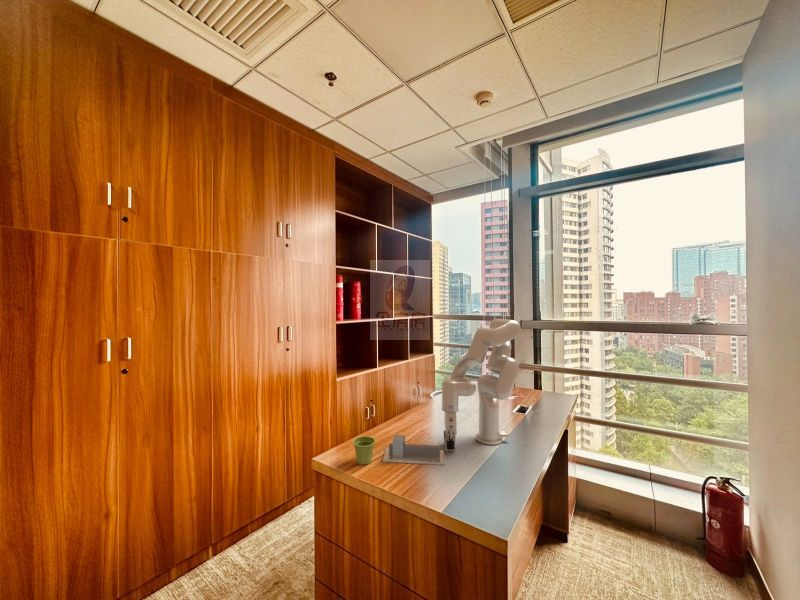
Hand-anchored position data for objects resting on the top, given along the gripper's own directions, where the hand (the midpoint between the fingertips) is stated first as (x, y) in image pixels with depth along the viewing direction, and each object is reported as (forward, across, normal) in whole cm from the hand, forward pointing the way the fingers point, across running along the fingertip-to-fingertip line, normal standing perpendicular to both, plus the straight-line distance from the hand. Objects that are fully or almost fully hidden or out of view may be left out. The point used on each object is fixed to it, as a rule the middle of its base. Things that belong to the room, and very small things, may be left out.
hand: (449, 444), depth 145 cm
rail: (+2, -10, +16) cm, 19 cm away
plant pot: (+2, -16, +37) cm, 40 cm away
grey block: (+2, 0, 0) cm, 2 cm away
